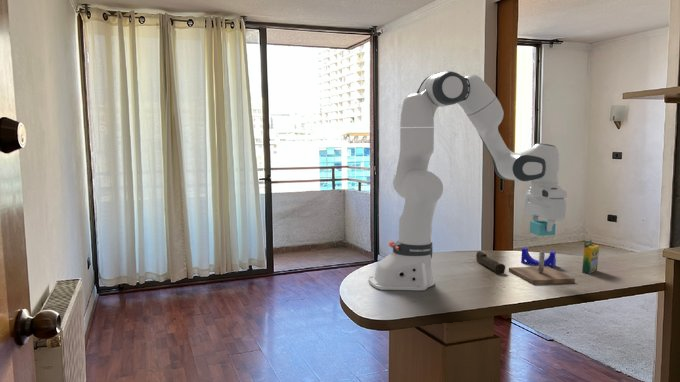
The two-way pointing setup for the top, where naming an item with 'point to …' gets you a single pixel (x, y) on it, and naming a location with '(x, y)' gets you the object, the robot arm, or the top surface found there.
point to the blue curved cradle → (547, 262)
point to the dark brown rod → (490, 263)
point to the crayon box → (590, 257)
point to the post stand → (541, 273)
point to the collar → (541, 228)
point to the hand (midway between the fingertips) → (542, 228)
